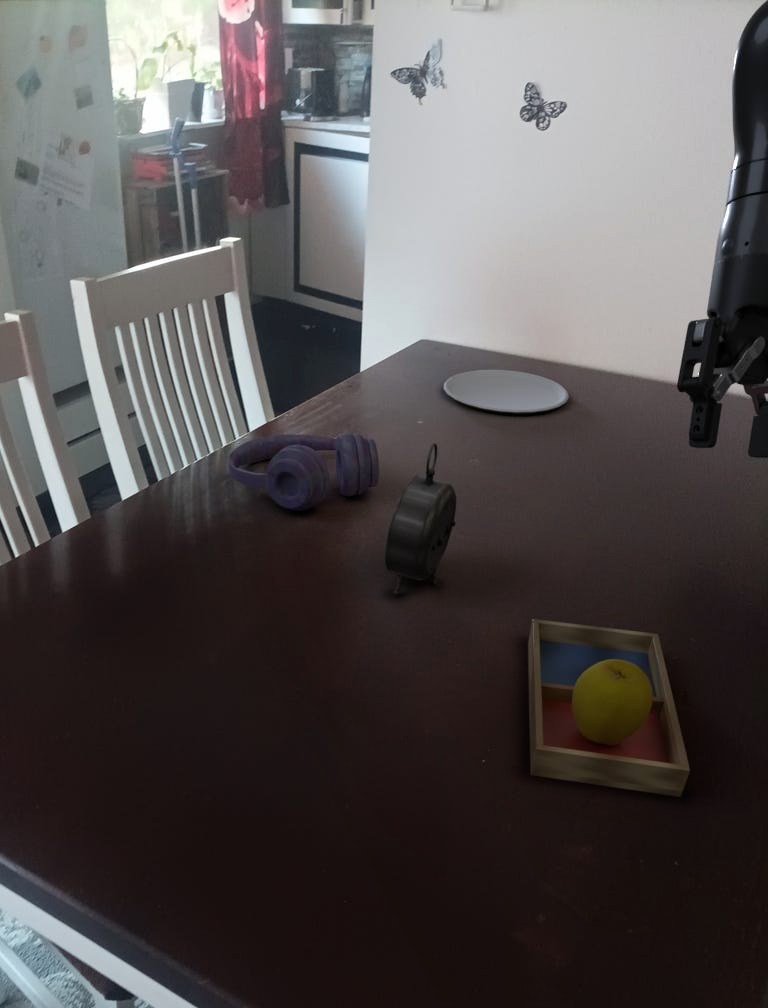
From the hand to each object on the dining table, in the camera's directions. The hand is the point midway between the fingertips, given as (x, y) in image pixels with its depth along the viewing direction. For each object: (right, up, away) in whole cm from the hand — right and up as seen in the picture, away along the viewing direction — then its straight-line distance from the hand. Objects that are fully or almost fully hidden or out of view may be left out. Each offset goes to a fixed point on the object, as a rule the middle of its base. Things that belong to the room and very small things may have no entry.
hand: (732, 452), depth 80 cm
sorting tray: (-11, -23, +2) cm, 26 cm away
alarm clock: (-25, -10, +22) cm, 34 cm away
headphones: (-38, +4, +42) cm, 57 cm away
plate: (-3, +25, +73) cm, 77 cm away
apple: (-12, -25, -2) cm, 28 cm away
